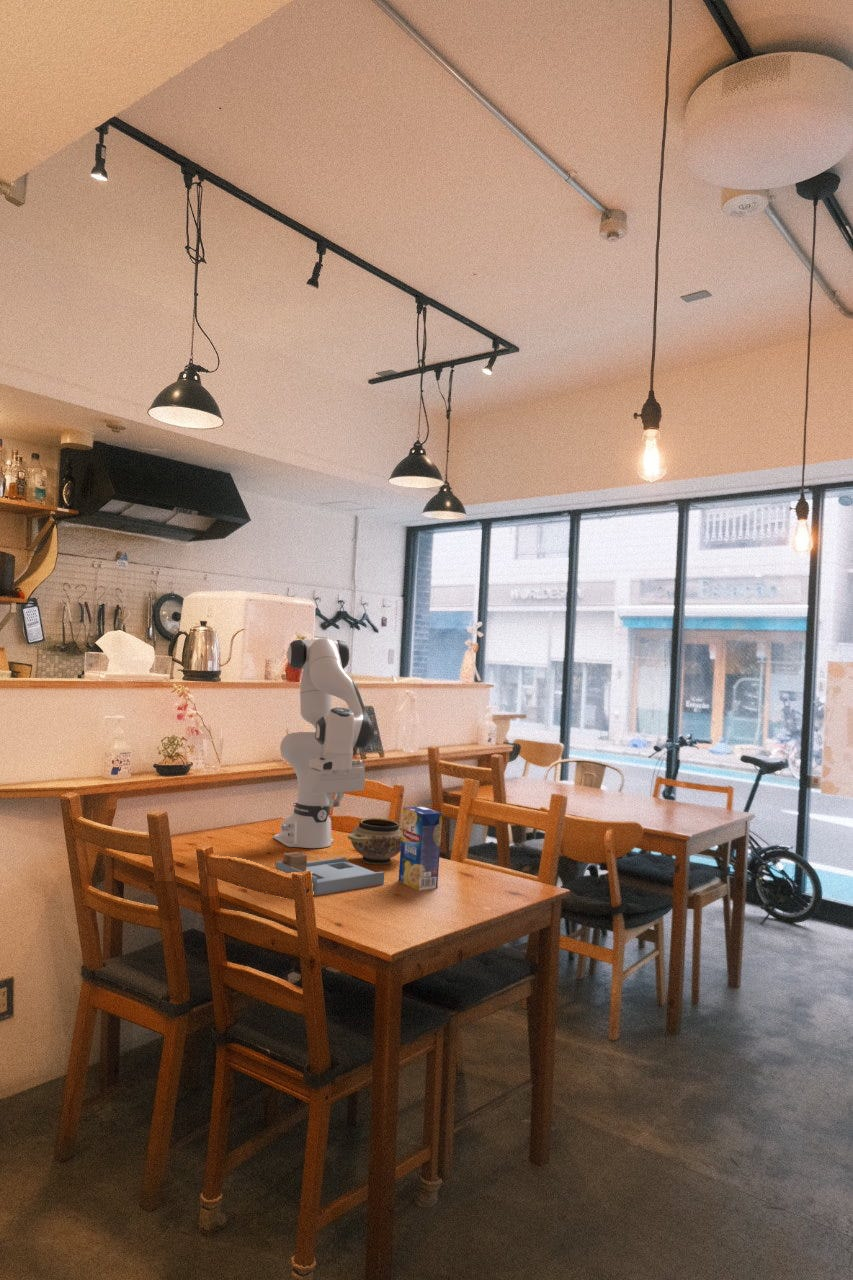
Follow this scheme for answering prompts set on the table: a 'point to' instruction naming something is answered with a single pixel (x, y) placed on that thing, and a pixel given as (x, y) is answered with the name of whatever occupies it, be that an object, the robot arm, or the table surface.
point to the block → (295, 860)
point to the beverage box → (420, 847)
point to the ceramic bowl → (377, 840)
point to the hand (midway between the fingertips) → (334, 806)
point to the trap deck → (336, 875)
